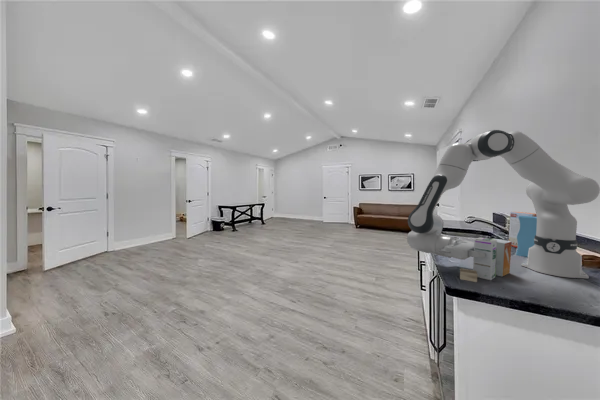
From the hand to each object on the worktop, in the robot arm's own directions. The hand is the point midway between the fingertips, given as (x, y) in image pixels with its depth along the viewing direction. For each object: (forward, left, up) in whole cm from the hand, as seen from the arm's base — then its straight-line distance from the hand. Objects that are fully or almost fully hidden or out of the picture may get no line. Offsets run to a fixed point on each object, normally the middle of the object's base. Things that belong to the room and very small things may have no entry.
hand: (488, 254), depth 89 cm
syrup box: (0, -1, -9) cm, 9 cm away
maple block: (+7, -4, -9) cm, 12 cm away
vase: (-57, +4, -9) cm, 58 cm away
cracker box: (-76, 0, -9) cm, 77 cm away
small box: (-10, +1, -9) cm, 14 cm away
